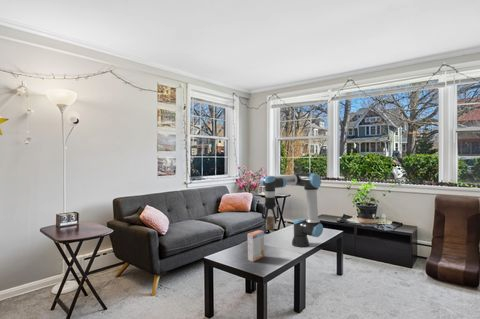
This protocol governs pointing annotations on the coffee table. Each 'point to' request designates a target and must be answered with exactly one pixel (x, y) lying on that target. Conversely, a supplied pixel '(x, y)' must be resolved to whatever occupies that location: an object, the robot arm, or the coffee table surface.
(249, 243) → the cracker box
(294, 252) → the coffee table surface
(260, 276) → the coffee table surface
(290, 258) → the coffee table surface
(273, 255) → the coffee table surface
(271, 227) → the walnut block
